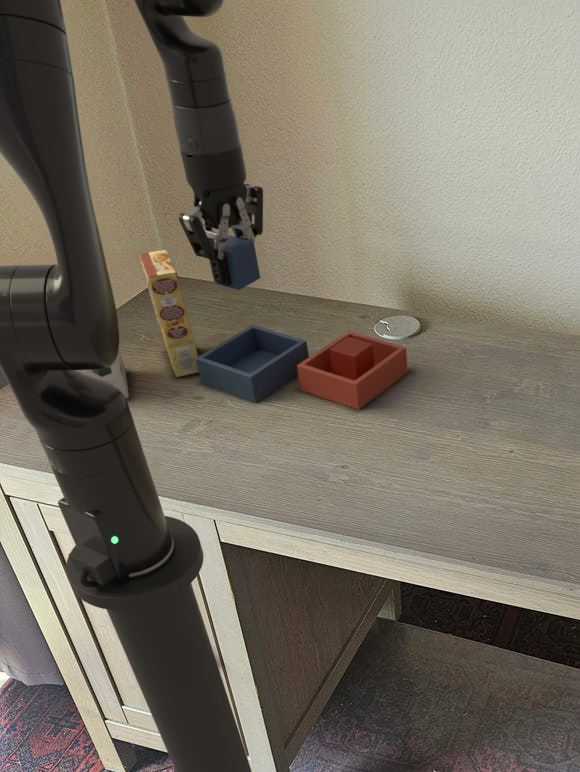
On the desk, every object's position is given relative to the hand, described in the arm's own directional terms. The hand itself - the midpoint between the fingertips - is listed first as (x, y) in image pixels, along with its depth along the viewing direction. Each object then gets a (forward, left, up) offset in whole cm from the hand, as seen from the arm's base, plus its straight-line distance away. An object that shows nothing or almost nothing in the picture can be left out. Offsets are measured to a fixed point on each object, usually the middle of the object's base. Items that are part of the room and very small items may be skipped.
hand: (236, 277), depth 120 cm
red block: (+6, -14, -14) cm, 21 cm away
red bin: (+6, -14, -15) cm, 21 cm away
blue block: (0, 0, -1) cm, 1 cm away
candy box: (-3, +12, -15) cm, 19 cm away
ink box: (-14, +16, -15) cm, 26 cm away
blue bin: (0, 0, -15) cm, 15 cm away
